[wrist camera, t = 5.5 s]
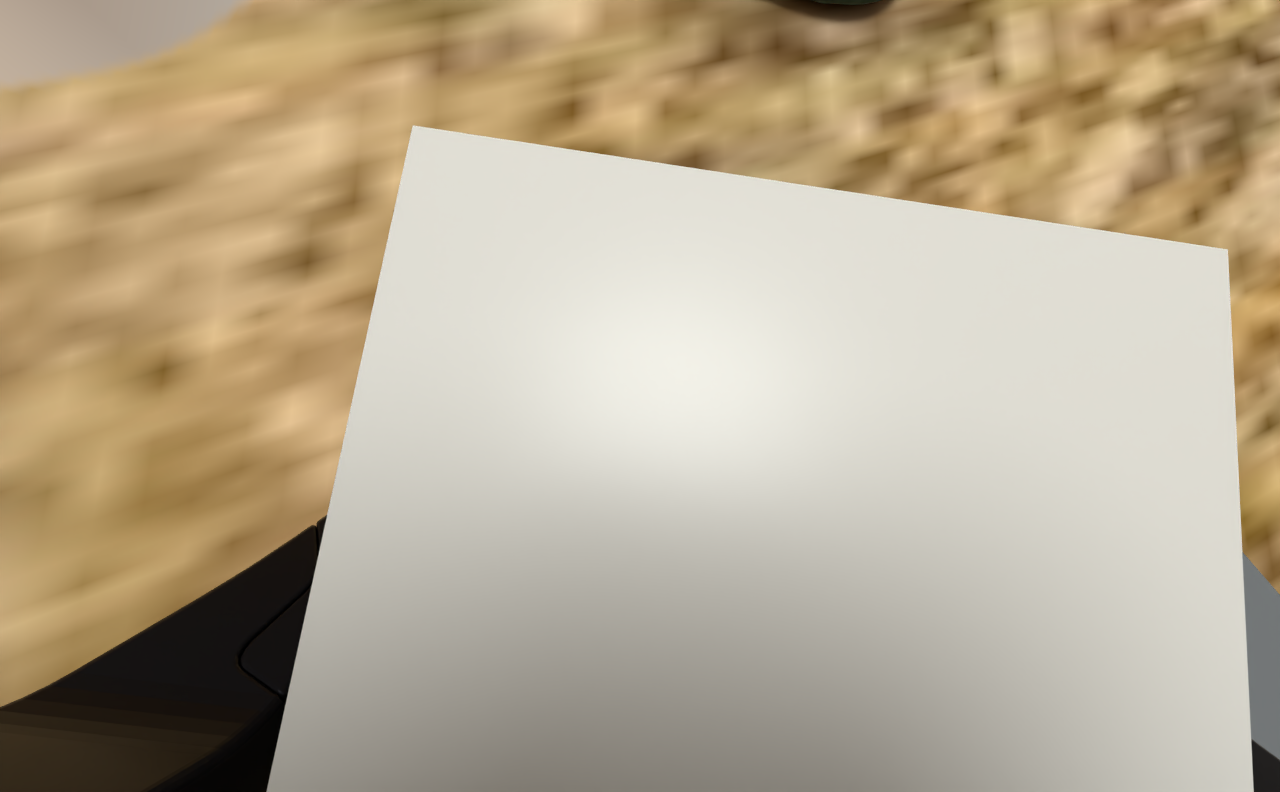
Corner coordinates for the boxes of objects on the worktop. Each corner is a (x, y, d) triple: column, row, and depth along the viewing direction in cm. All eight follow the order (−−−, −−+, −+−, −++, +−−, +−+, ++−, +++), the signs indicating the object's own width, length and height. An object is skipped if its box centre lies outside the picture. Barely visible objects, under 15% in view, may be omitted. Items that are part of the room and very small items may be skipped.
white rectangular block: (743, 627, 15) (1275, 1251, 3) (533, 601, 15) (187, 1154, 3) (763, 419, 16) (1227, 249, 4) (565, 391, 16) (413, 125, 4)
